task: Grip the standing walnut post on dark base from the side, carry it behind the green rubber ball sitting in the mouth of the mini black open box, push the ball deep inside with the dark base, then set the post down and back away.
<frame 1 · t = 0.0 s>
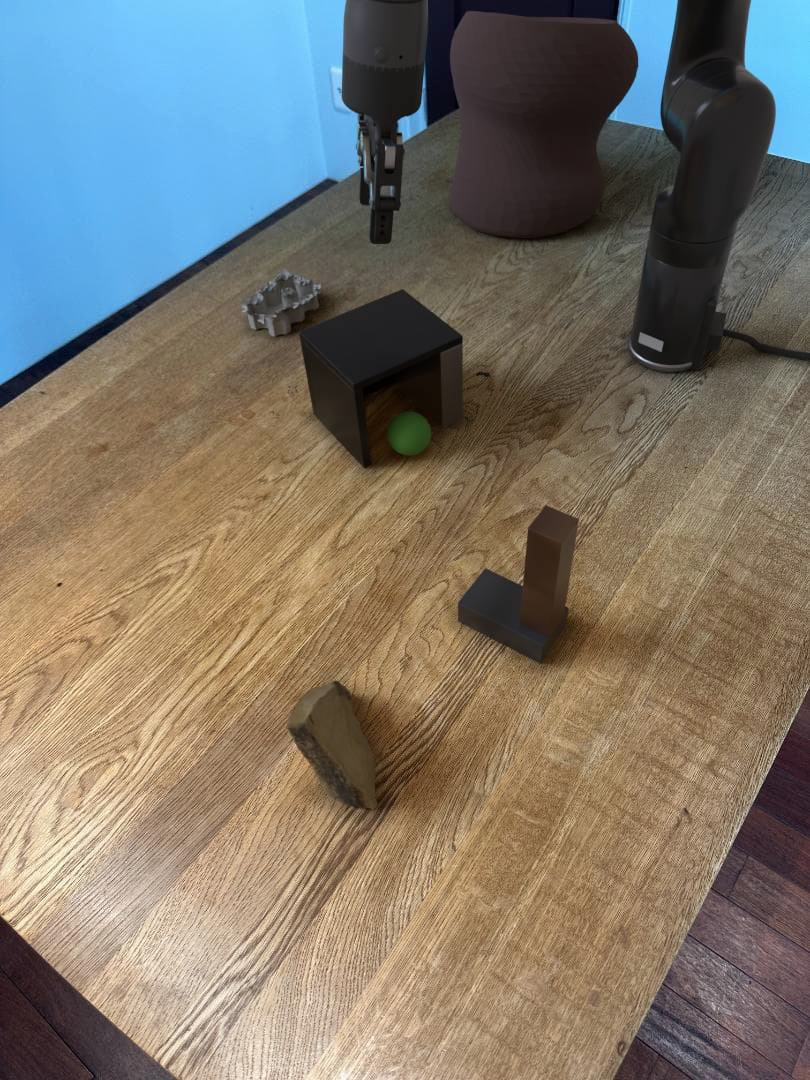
hand: (374, 222, 85), 22 cm above the table, tool pointing down, fingers open, 8 cm apart
rock: (348, 748, 70), on the table
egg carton: (284, 315, 115), on the table
ball: (409, 433, 93), point 2 cm above the table
vase: (531, 203, 132), on the table
black open box: (387, 417, 99), on the table
post on dark base: (539, 638, 76), on the table
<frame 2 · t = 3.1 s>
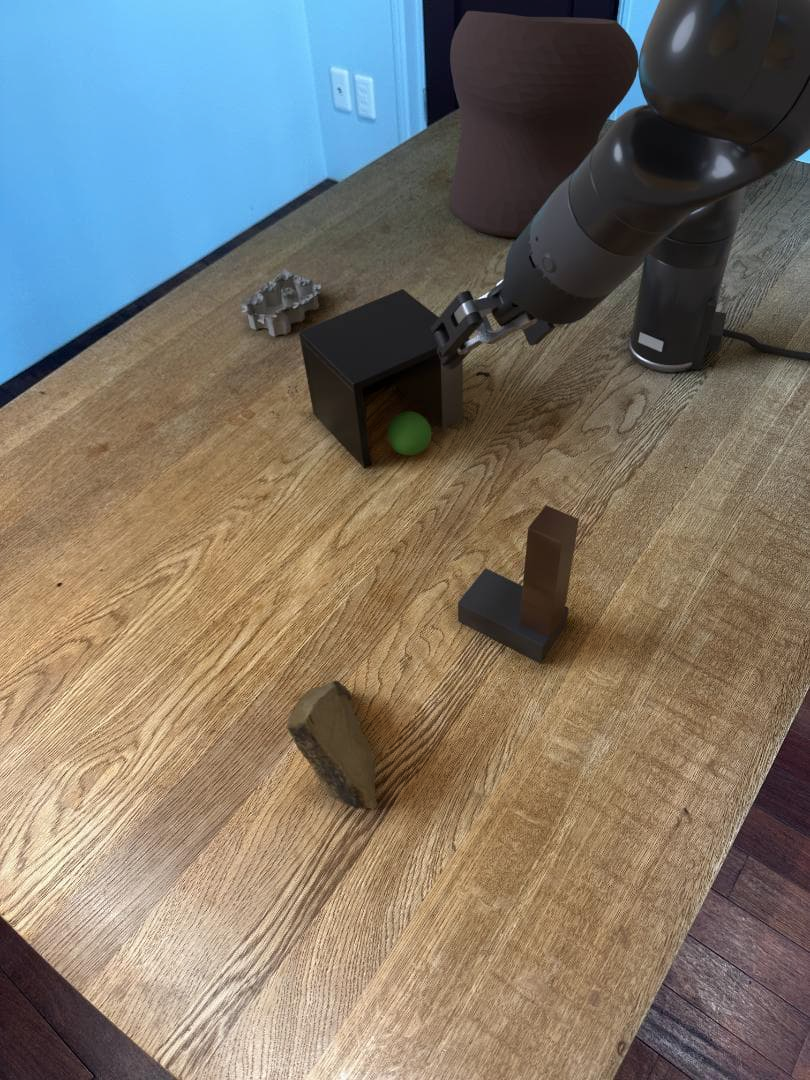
hand: (487, 347, 70), 22 cm above the table, tool tilted 35°, fingers open, 8 cm apart
nothing on the table moved.
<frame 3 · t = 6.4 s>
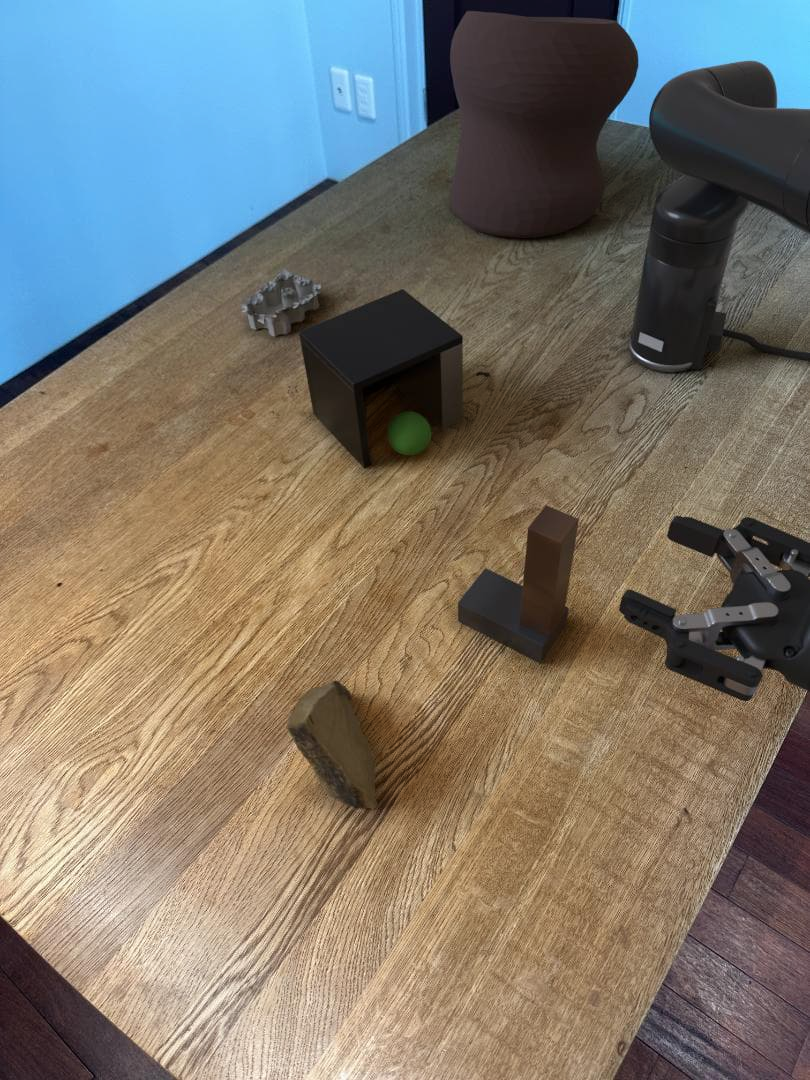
hand: (647, 562, 61), 16 cm above the table, tool horizontal, fingers open, 8 cm apart
nothing on the table moved.
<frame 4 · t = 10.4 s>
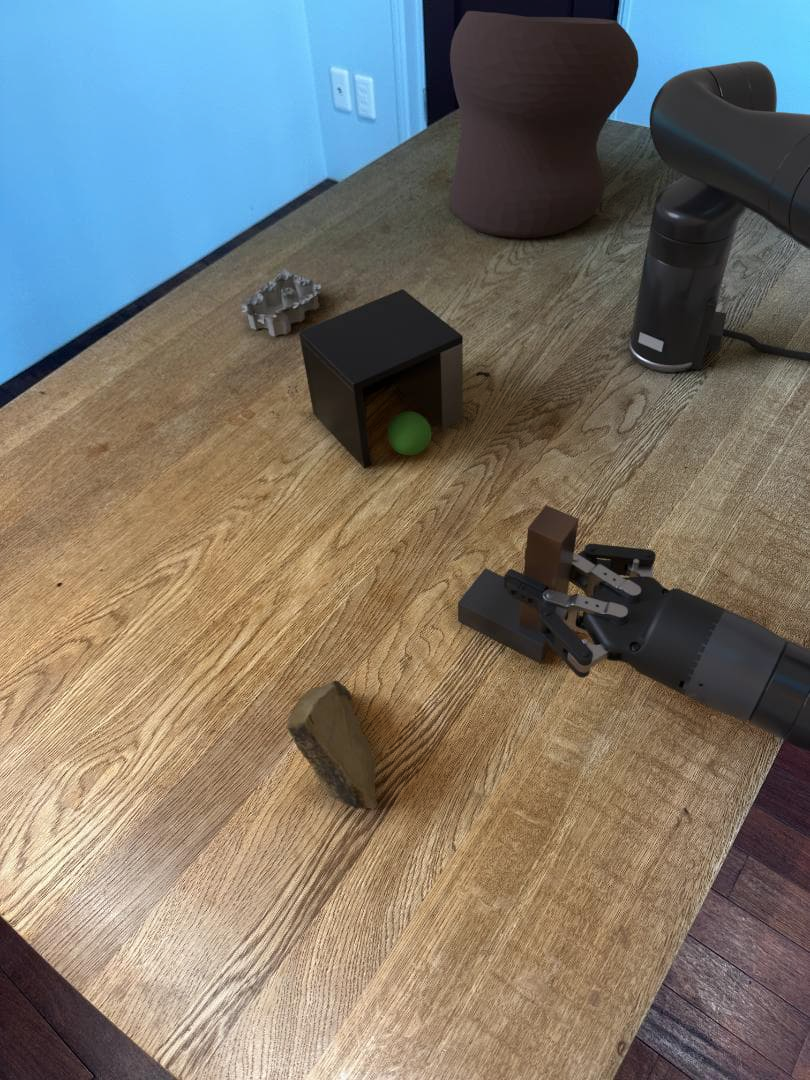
hand: (517, 564, 71), 9 cm above the table, tool horizontal, fingers closed on post on dark base, 3 cm apart
post on dark base: (539, 638, 76), on the table, touching gripper
everything else where it was.
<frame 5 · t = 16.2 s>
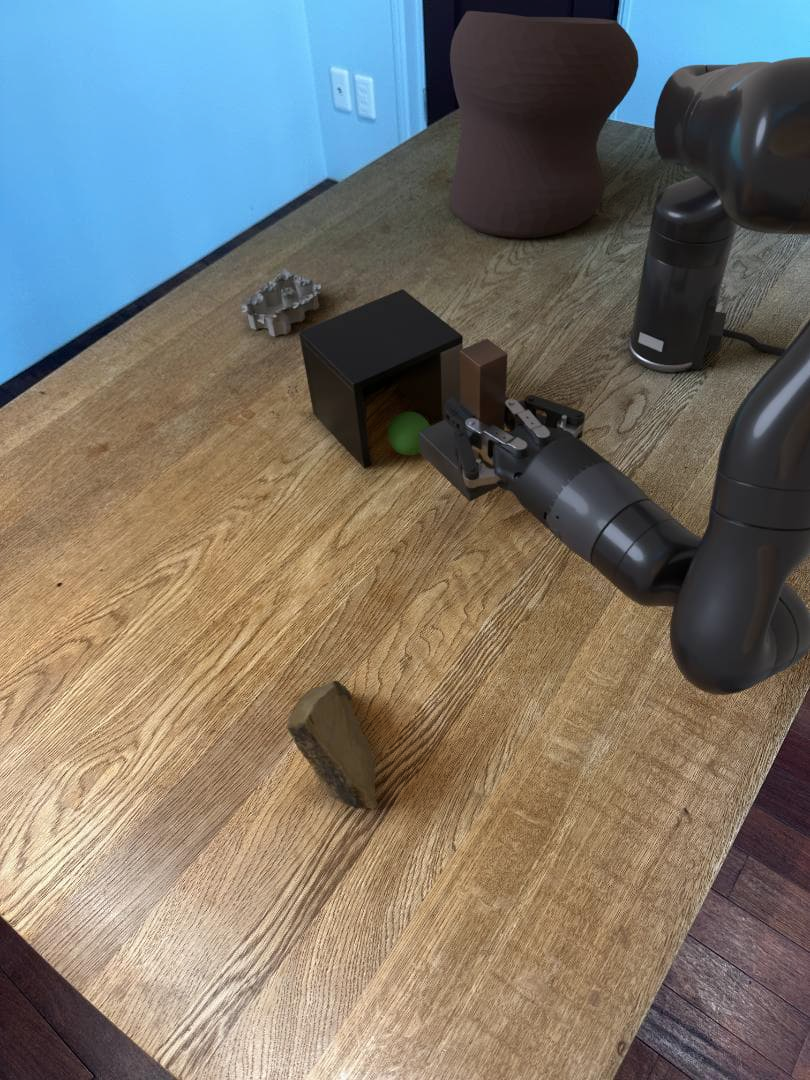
hand: (464, 399, 78), 14 cm above the table, tool horizontal, fingers closed on post on dark base, 3 cm apart
post on dark base: (481, 483, 83), point 5 cm above the table, touching gripper
everything else where it was.
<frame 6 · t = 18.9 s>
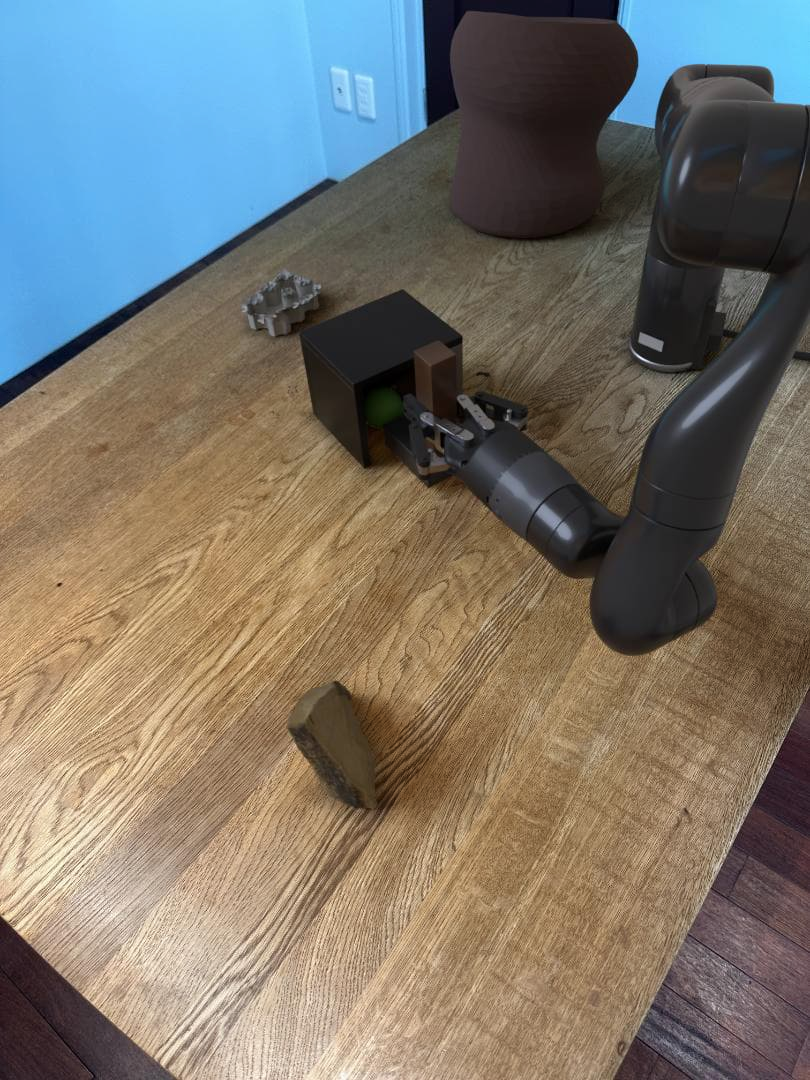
hand: (421, 395, 86), 10 cm above the table, tool horizontal, fingers closed on post on dark base, 3 cm apart
ball: (382, 408, 96), point 2 cm above the table, tilted 131°
post on dark base: (439, 471, 91), point 1 cm above the table, touching gripper
everything else where it was.
when the fingers open (9 cm above the table, at t = 22.2 s): post on dark base stays where it is, on the table.
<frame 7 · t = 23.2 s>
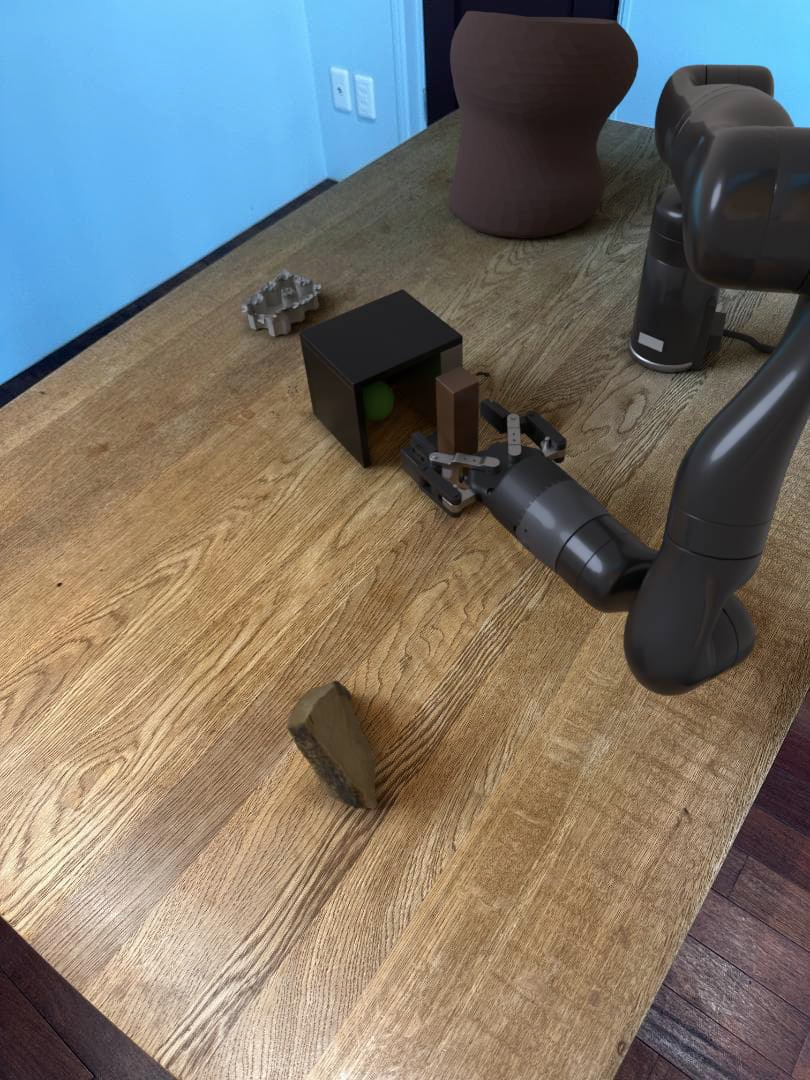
hand: (449, 422, 83), 10 cm above the table, tool horizontal, fingers open, 8 cm apart
ball: (373, 400, 97), point 2 cm above the table, tilted 173°
post on dark base: (458, 496, 89), on the table
everything else where it was.
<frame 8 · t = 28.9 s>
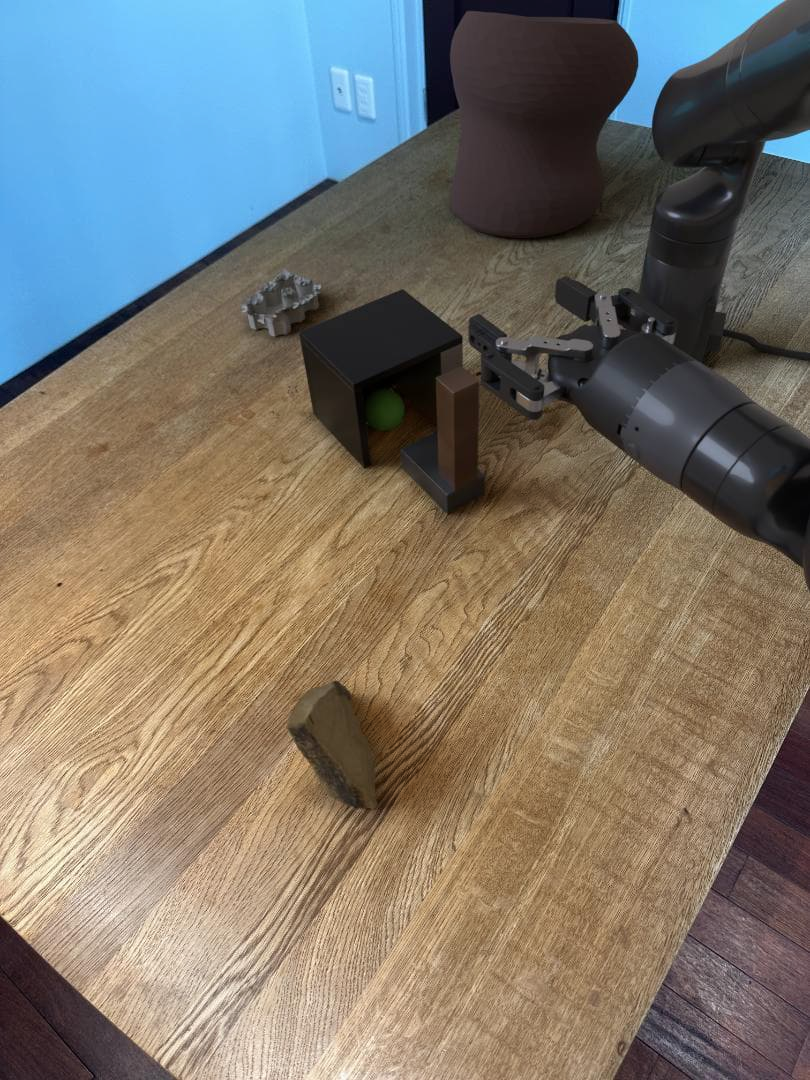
hand: (516, 306, 63), 28 cm above the table, tool horizontal, fingers open, 8 cm apart
ball: (383, 409, 96), point 2 cm above the table, tilted 123°
everything else where it was.
at the end: ball 1.6 cm from the black open box (horizontally); ball moved 5.4 cm from its start; the gripper is holding nothing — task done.
